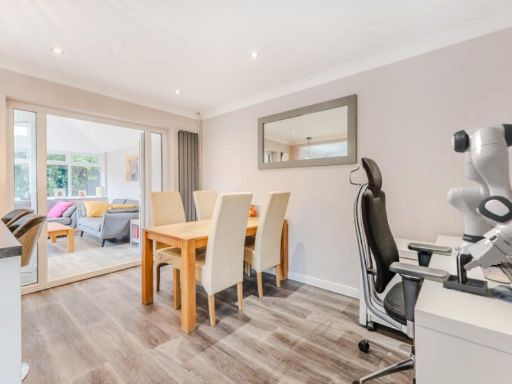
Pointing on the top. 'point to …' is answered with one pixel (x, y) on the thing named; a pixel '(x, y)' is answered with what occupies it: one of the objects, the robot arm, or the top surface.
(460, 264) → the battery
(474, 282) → the grey tray
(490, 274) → the top surface
